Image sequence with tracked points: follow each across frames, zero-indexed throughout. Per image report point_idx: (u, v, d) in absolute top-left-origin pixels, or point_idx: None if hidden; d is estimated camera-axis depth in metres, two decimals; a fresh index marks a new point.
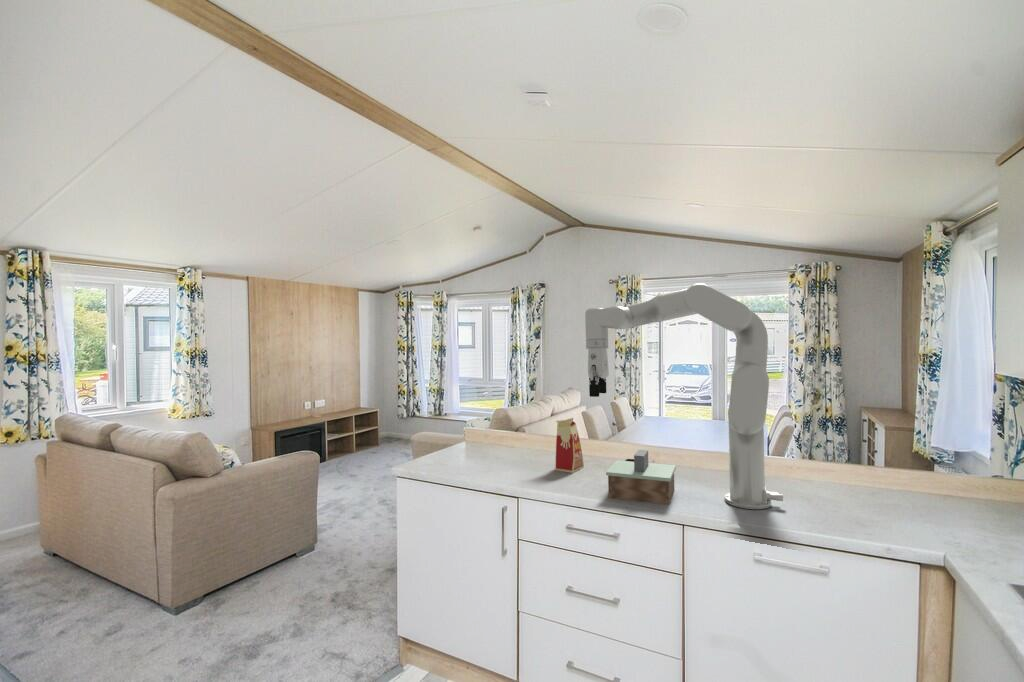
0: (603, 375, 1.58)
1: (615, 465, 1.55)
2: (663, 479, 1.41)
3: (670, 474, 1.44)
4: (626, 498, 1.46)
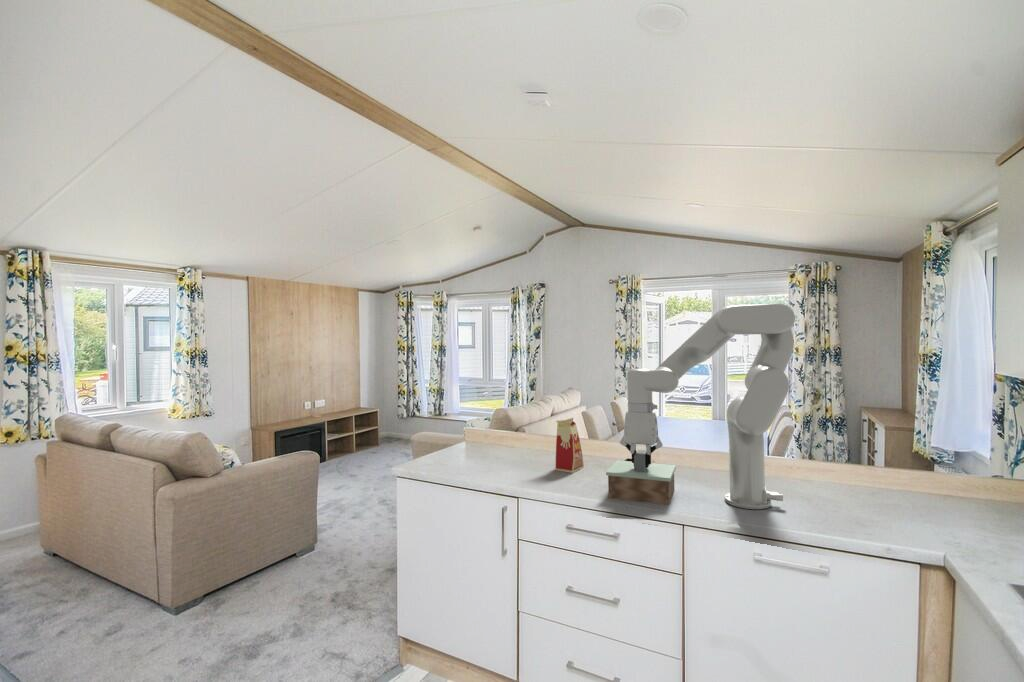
0: None
1: (615, 465, 1.55)
2: (663, 479, 1.41)
3: (670, 474, 1.44)
4: (626, 498, 1.46)
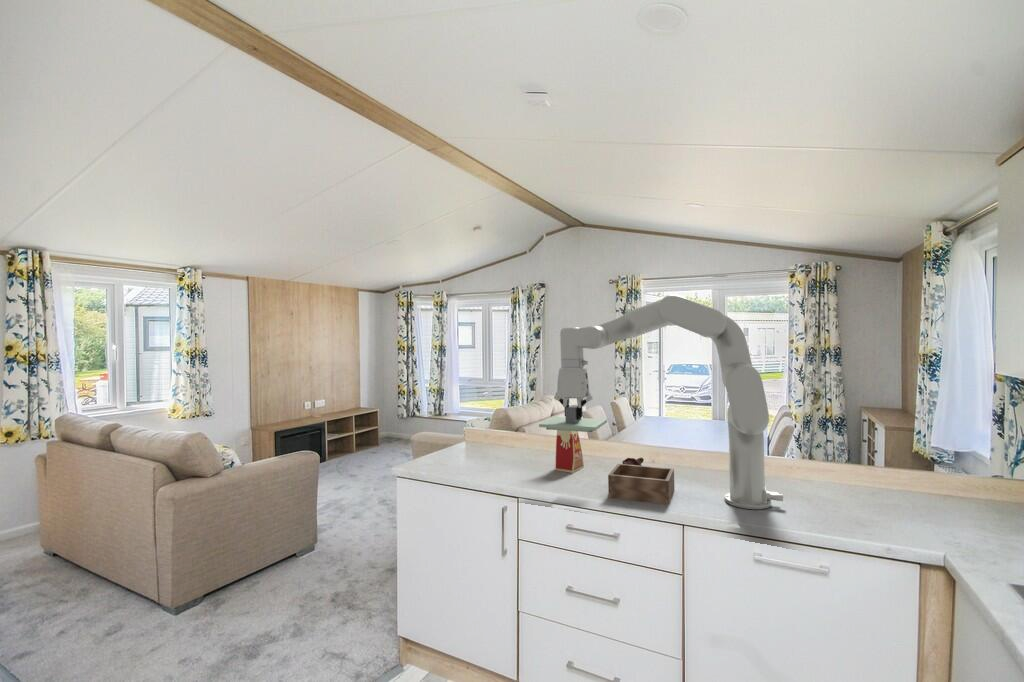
0: None
1: (550, 419, 1.64)
2: (589, 428, 1.50)
3: (597, 425, 1.53)
4: (626, 498, 1.46)
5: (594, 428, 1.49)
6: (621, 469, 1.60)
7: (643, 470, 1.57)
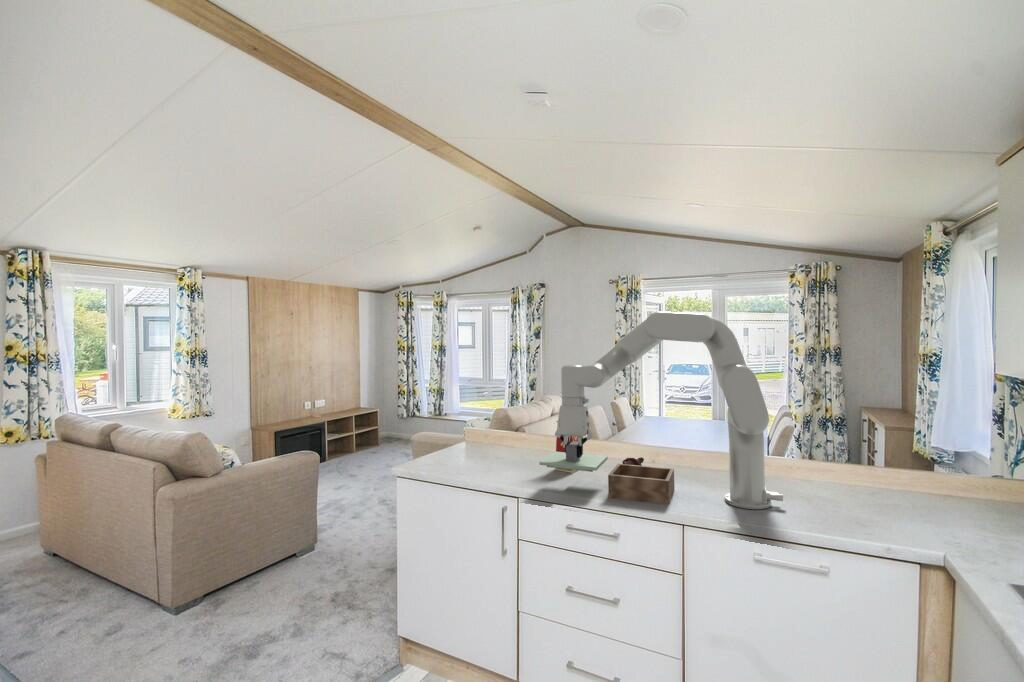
0: None
1: (551, 456, 1.65)
2: (590, 468, 1.50)
3: (598, 464, 1.53)
4: (626, 498, 1.46)
5: (594, 468, 1.50)
6: (621, 469, 1.60)
7: (643, 470, 1.57)
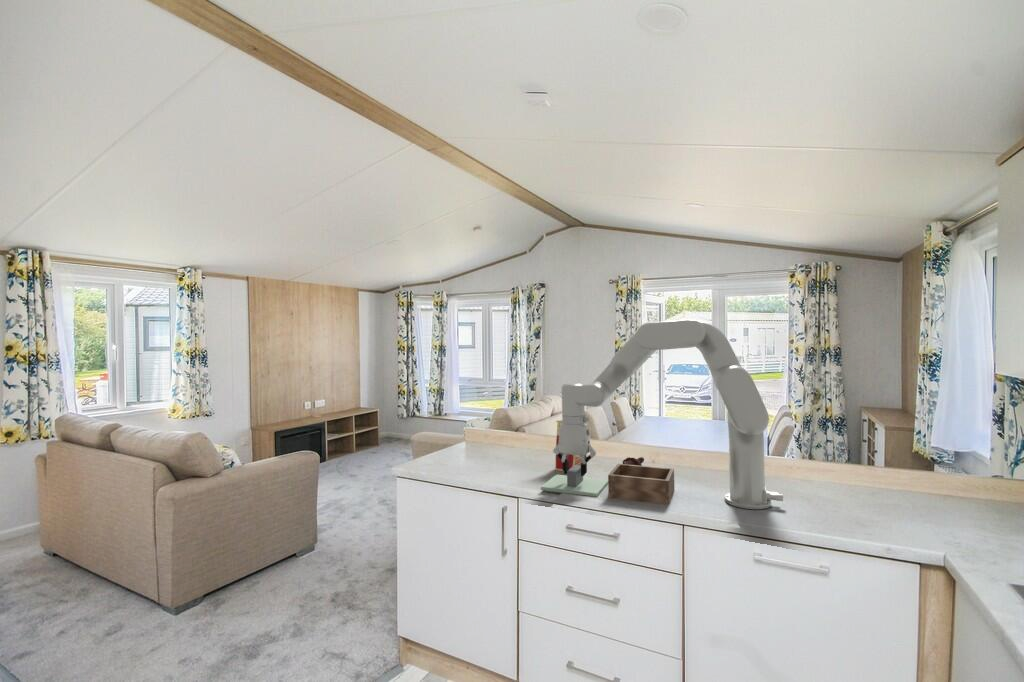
0: None
1: (552, 480, 1.65)
2: (591, 494, 1.50)
3: (599, 489, 1.53)
4: (626, 498, 1.46)
5: (596, 494, 1.50)
6: (621, 469, 1.60)
7: (643, 470, 1.57)
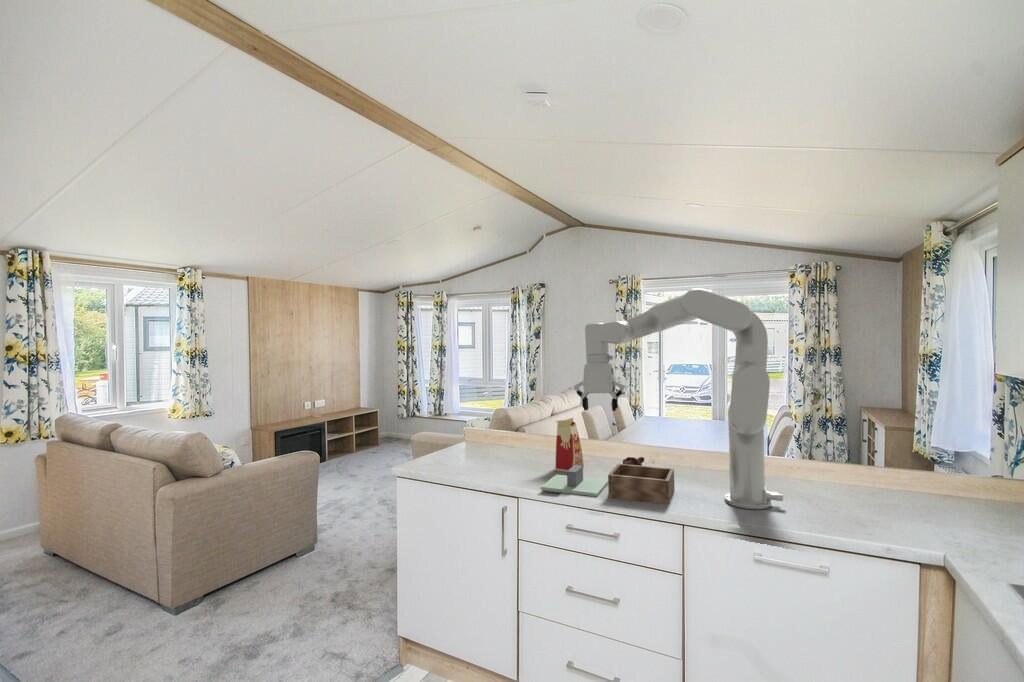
0: None
1: (552, 480, 1.65)
2: (591, 494, 1.50)
3: (599, 489, 1.53)
4: (626, 498, 1.46)
5: (596, 494, 1.50)
6: (621, 469, 1.60)
7: (643, 470, 1.57)
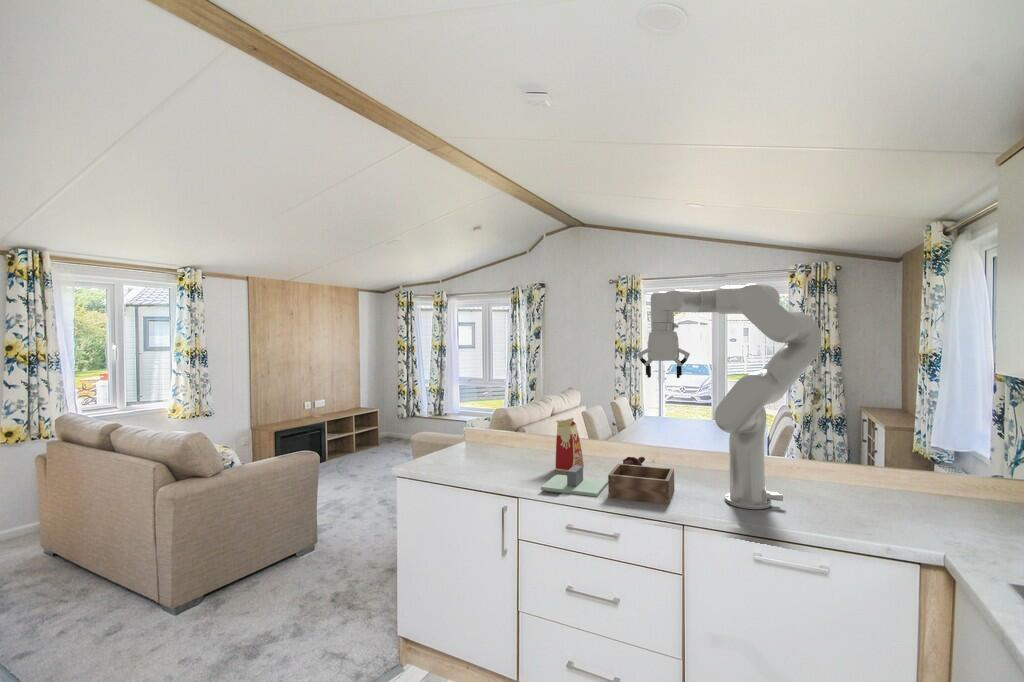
0: None
1: (552, 480, 1.65)
2: (591, 494, 1.50)
3: (599, 489, 1.53)
4: (626, 498, 1.46)
5: (596, 494, 1.50)
6: (621, 469, 1.60)
7: (643, 470, 1.57)
